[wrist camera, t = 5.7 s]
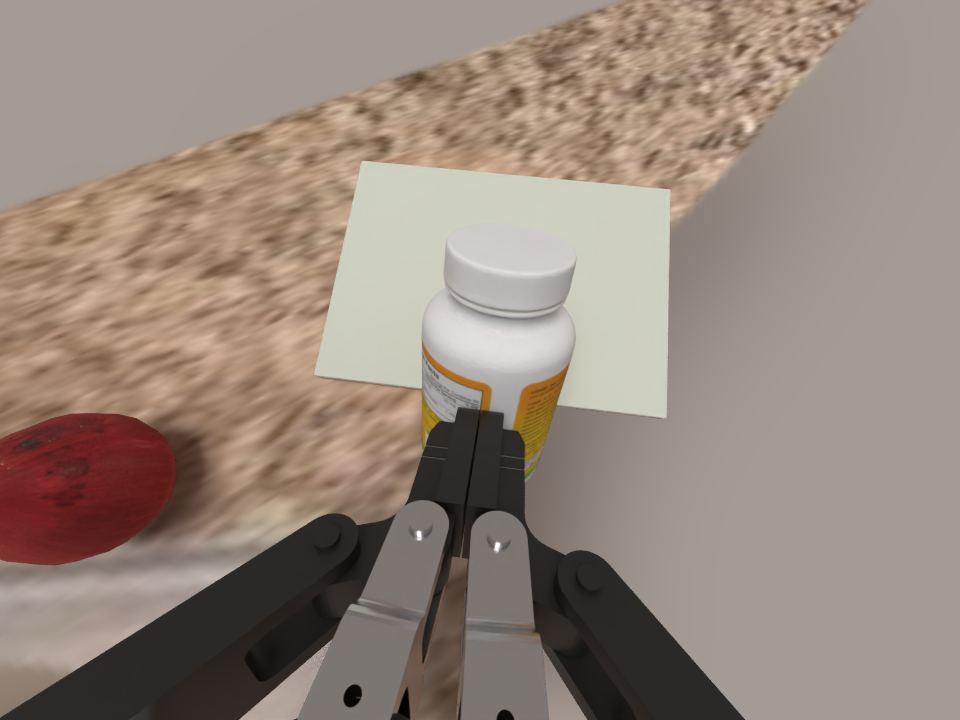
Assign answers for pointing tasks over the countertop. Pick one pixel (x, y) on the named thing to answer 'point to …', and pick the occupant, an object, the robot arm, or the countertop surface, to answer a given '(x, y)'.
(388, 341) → the mat
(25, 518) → the onion
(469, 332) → the supplement bottle
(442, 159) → the countertop surface
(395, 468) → the countertop surface
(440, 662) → the countertop surface
